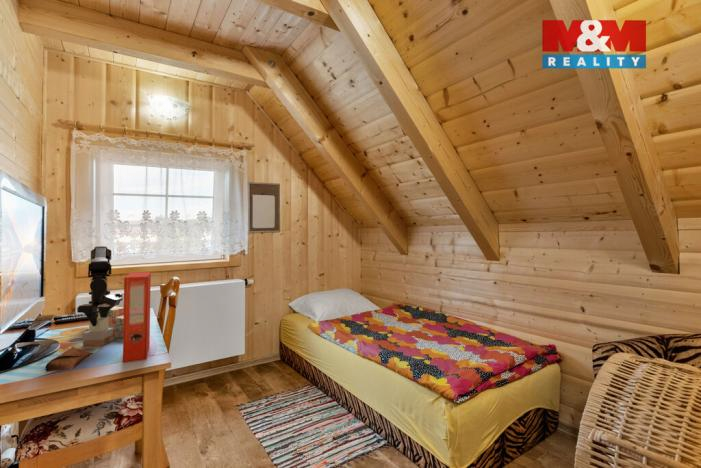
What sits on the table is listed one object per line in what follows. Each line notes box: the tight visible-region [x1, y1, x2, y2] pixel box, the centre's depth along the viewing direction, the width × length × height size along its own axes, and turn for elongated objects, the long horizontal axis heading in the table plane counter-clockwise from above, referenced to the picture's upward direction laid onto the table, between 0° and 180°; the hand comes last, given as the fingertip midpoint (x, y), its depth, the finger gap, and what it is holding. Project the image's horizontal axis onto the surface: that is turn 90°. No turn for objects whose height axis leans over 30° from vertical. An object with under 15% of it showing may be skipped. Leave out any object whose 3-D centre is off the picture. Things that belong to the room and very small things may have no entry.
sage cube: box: [88, 317, 109, 332], centre depth 154 cm, size 5×5×5 cm
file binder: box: [122, 271, 152, 363], centre depth 140 cm, size 8×17×32 cm, turn 27°
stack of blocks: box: [98, 305, 124, 339], centre depth 167 cm, size 21×6×12 cm, turn 63°
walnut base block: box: [82, 334, 115, 347], centre depth 154 cm, size 8×8×3 cm
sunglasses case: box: [44, 346, 94, 373], centre depth 132 cm, size 18×7×7 cm, turn 17°
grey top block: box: [81, 328, 113, 341], centre depth 154 cm, size 8×8×3 cm
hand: (99, 324), depth 154 cm, fingers open, 6 cm apart
